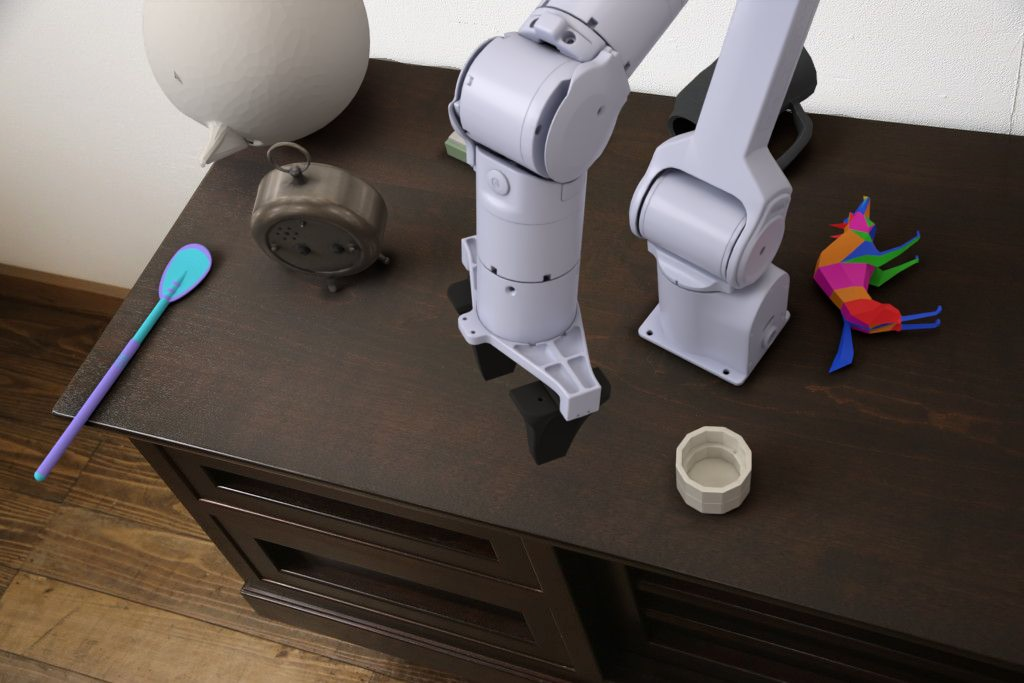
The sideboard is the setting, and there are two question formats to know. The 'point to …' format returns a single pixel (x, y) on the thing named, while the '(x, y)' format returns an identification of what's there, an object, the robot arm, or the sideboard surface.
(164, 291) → the spoon
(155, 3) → the mask
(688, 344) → the robot arm
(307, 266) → the alarm clock
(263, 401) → the sideboard surface
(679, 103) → the mug
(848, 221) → the figurine
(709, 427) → the bowl
